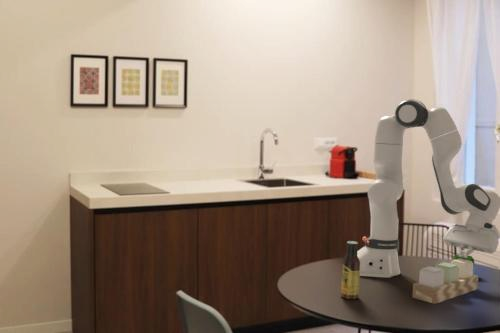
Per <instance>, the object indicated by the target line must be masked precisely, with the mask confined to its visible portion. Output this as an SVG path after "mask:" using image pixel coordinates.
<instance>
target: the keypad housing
mask: <svg viewBox="0 0 500 333" xmlns="http://www.w3.org/2000/svg"><path fill="white" fill-rule="evenodd" d="M478 285H479V276H478V275H475V274H473V276H472V277H469V278H466V279H463V278H459V280H458V281H456V282H453V283H446V282H444V284H443V286H440V287H437V288H431V287H427V286H424V285H420V284H419V281H418V282H415V283H413V284H412V298H413V299H415V300H420V301H422V302H423V301H424V302H426V303H429V304H430V303H431V304H434V305H436V304H439V303H442V302H444V301H447V300H450V299H453V298H456V297H459V296H462V295H464V294H468V293H470V292H473V291H476V290H478V289H479V288H478Z"/></svg>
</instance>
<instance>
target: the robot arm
mask: <svg viewBox="0 0 500 333" xmlns="http://www.w3.org/2000/svg"><path fill="white" fill-rule="evenodd" d="M410 128H412V129H413V128H423V129H424V130H425V133H426V135H427V136H428V139H429V141H430V144H431V148H432V155H431V156H432V157H431V162H432V167H433V170H434V173H435V174H434V175H435V179H436V182H437V185H438V189H439V194H440V195H439V196H440V204H441V206H442V208H443V209H444V211H445V212H446V213H448V214H450V215H458V214H461V213H463V212H468V213H469V215H468V218H467V219H466V222H465V223H464V225H463V224H457V223H456V224H453V225H450V227H449V229H447V231H446V232H445V234H444V235H443V238H442V240H443V242H444V243H445V245H446V246H451V247H457V248H458V249H459V251H458V253H457V255H458V256H459V257H463V258H467V257H468V256H470V255H471V254H472V253H474V251H477V252H482V253H487V254H491V255H492V254H494V253H495V252H496V251H497V249H498V247H499V246H498V245H499V242H500V241H499V239H500V231H499V230H498V227H496V225H494V224H493V221H495V219H496V218H497V216H498V213H499V211H500V196H499V194H498V193H496V192H494V191H493V190H489V189H483V188H482V187H481V186H480V185H478V184H476V183H470V184H466V185H462V186H458V187H456V186H455V183H454V182H455V181H454V180H453V174H452V173H451V167H450V166H451V162H452V161H453V159H454V158H455V157H456V155H457V154H458V153H459V152H460V150H461V148H462V144H463V142H462V137H461V134H460V132H459V130H458V128H457V126H456V122H455V121H454V119H453V117H452V116H451V115H450V113H449V111H448V110H447V109H446V108H444V107H441V106H440V107H439V106H438V107H432V108H427V107H426V105H425V104H424V103H423V102H422V101H420V100H418V99H414V98H413V99H411V98H410V99H406V100H403V101H401V102H400V103H399V104H398V105H397V106H396V109H395V111H394V115H385V116H383V117H381V118H380V119H378V122H377V126H376V130H375V135H374V136H375V137H374V150H373V163H374V169H375V180H374V181H372V183H371V184H370V186H369V187H368V190H367V198H368V203H369V204H368V205H369V212H370V236H368V237H367V236H363V237H362V241H363V242H364V246H363V247H361V248H360V249H359V250H358V249H357V256H358V258H359V260H360V277H370V278H371V277H373V278H387V279H389V278H392V277H394V276H398V275H400V274H401V270H400V265H399V264H400V263H399V256H398V253H399V250H400V238H398V237H399V216H398V215H399V214H398V208H397V205H398V204H397V201H398V200H400V198H402V196H403V193H404V184H403V183H404V182H403V180H404V179H403V178H404V177H403V175H404V174H403V165H402V162H403V160H402V159H403V147H404V146H403V145H404V144H403V143H404V134H405V131H406V130H407V129H410ZM465 249H466V250H465Z"/></svg>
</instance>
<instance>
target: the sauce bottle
mask: <svg viewBox="0 0 500 333" xmlns="http://www.w3.org/2000/svg"><path fill="white" fill-rule="evenodd" d="M345 246H346V252H345V256H344V258H343V261H342V267H341V282H340V283H341V284H340V286H341V287H340V292H341V297H342V298H344V299H347V300H349V299H350V300H354V299H355V300H356V299H358V297H359V293H360V279H361V276H360V260H359V258H358V256H357V251H358V248H359V242H358V241H354V240H348V241H347V242H346V245H345Z"/></svg>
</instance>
